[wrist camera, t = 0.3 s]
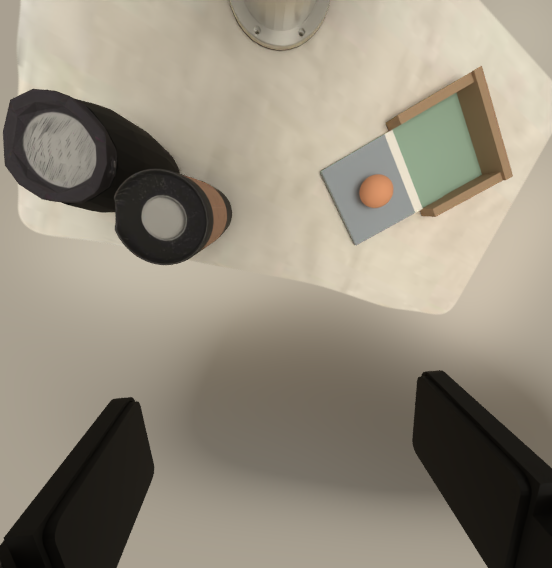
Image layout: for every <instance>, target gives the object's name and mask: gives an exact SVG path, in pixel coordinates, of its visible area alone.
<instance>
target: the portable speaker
mask: <svg viewBox="0 0 552 568" xmlns="http://www.w3.org/2000/svg"><path fill="white" fill-rule="evenodd" d="M3 140H4V158H5V166H6V167H7V169H8V170H9V171H10V173H11V174H12V175H13V177H14V178H15V180H16V181H17V182H18V184H19V185H21V186H23V187H24V188H26V189H27V190H29V191H30V192H32V193H33V194H35V195H37V196H38V197H40V198H41V199H44V200H49V201H55V202H62V203H64V204H67V205H71V206H75V207H79V208H83V209H87V210H91V211H97V212H102V213H103V212H115V200H114V195H115V193H116V191H117V190H118V188H119V187H120V185H121V184H122V183H123V182H124V181H125V180H126V179H127V178H129V177H130V176H131V175H133V174H135V173H137V172H140V171H142V170H147V169H165V170H170V171H173V172H176V173H179V169H178V167H177V165H176V163H175V161H174V159H173V157H172V156H171V155H170V154H169V152H167V151H166V150H165V149H164V148H163V147H162V146H161V145H160V144H159V143H158V142H157V141H156V140H155V139H154V138H153V137H152V136H151V135H149V134H148V133H147V132H146V131H144V130H143V129H141V128H139V127H138V126H136V125H135V124H133V123H131V122H130V121H128V120H127V119H125V118H123V117H122V116H120V115H119V114H117V113H116V112H114V111H112V110H111V109H108V108H105V107H102V106H99V105H96V104H93V103H89V102H85V101H81V100H77V99H74V98H72V97H70V96H68V95H65V94H62V93H60V92H57V91H51V90H39V89H32V90H30V91H28V92H26V93H23V94H21V95H19V96H17V97H16V98H13V99H11V100H10V103H9V108H8V112H7V117H6V121H5V125H4V130H3Z"/></svg>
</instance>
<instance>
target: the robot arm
mask: <svg viewBox="0 0 552 568" xmlns="http://www.w3.org/2000/svg"><path fill="white" fill-rule="evenodd" d="M229 1H230V4H231V7H232V11H233V13H234V15H235V17H236V20H237V22H238V23H239V25H240V26H241V28H242V29H243V30H244V32H245V33H246V34H247V35H248V36H249V37H250V38H251V39H252V40H254V41H255V42H257V43H258V44H260V45H262V46H265V47H267V48H270V49H276V50H286V49H291V48H294V47H297V46H299V45H301V44H303V43H304V42H306V41H307V40H308V39H309V38H311V37H312V36H313V35H314V34H315V32H316V31H317V30H318V29H319V27H320V26H321V24H322V22H323V20H324V18H325V16H326V13H327V10H328V8H329V4H330V0H229ZM257 32H258V33H259V34H255V33H257ZM300 34H301V35H302V37H301V36H299V35H300ZM413 447H414V450H415V452H416V454H417V456H418V457H419V459H420V460H421V462H422V464H423V465H424V467H425V468H426V470H427V472H428V473H429V475H430V476H431V478H432V479H433V481H434V483H435V484H436V486H437V487H438V489H439V491H440V492H441V494H442V495H443V497H444V498H445V500H446V502H447V503H448V505H449V507H450V508H451V510H452V511H453V513H454V514H455V516H456V517H457V519H458V521H459V522H460V524H461V525H462V527H463V529H464V530H465V532H466V533H467V535H468V537H469V538H470V540H471V541H472V543H473V545H474V546H475V548H476V549H477V551H478V553H479V554H480V556H481V557H482V559H483V561H484V562H485V564H486V565H487V567H488V568H552V468H551V467H550V466H548V465H547V464H546V463H545V462H544V461H543V460H542V459H541V458H540V457H538V456H537V455H536V454H535V453H534V452H533V451H532V450H531V449H530V448H528V447H527V446H526V445H525V444H524V443H523V442H522V441H521V440H520V439H518V438H517V437H516V436H515V435H514V434H513V433H512V432H511V431H509V430H508V429H507V428H506V427H505V426H504V425H503V424H502V423H500V422H499V421H498V420H497V419H496V418H495V417H494V416H493V415H492V414H490V413H489V412H488V411H487V410H486V409H485V408H484V407H482V406H481V404H479V403H478V402H477V401H476V400H475V399H474V398H473V397H472V396H470V395H469V394H468V393H467V392H466V391H465V390H464V389H463V388H462V387H460V386H459V385H458V384H457V383H456V382H455V381H454V380H453V379H452V378H450V377H449V376H448V375H447V374H446V373H445V372H443V371H440V370H439V371H428V372H423V374H422V376H421V377H418V380H417V391H416V402H415V415H414V427H413ZM153 474H154V463H153V459H152V455H151V450H150V446H149V441H148V437H147V433H146V428H145V424H144V420H143V415H142V411H141V406H140V404H139V402H135V400H134V399H133V398H132V397H129V398H118V399H113V400H111V401H110V403H109V404H108V405H107V407H106V408H105V409H104V410H103V411H102V413H101V414H100V415H99V417H98V418H97V419H96V421H95V422H94V423H93V424H92V426H91V427H90V428H89V429H88V431H87V432H86V433H85V435H84V436H83V437H82V438H81V440H80V441H79V442H78V443H77V445H76V446H75V447H74V449H73V450H72V451H71V452H70V454H69V455H68V456H67V458H66V459H65V460H64V462H63V463H62V464H61V465H60V467H59V468H58V469H57V471H56V472H55V473H54V474H53V476H52V477H51V478H50V479H49V481H48V482H47V483H46V484H45V486H44V487H43V489H42V490H41V491H40V492H39V493H38V495H37V496H36V497H35V499H34V500H33V501H32V502H31V504H30V505H29V506H28V508H27V509H26V510H25V511H24V513H23V514H22V515H21V516H20V518H19V519H18V520H17V522H16V523H15V524H14V526H13V527H12V528H11V529H10V531H9V532H8V533H7V535H6V536H5V537H4V541H3V543H2V544H1V545H0V568H117V565H118V563H119V560H120V558H121V555H122V553H123V550H124V548H125V545H126V543H127V540H128V538H129V535H130V533H131V530H132V528H133V525H134V523H135V520H136V518H137V515H138V513H139V511H140V508H141V506H142V503H143V501H144V498H145V496H146V493H147V491H148V488H149V486H150V483H151V481H152V478H153Z"/></svg>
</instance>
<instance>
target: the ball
mask: <svg viewBox="0 0 552 568" xmlns="http://www.w3.org/2000/svg"><path fill="white" fill-rule="evenodd" d="M393 190H394V189H393V184H392V182H391V180H390V179H389V178H388V177H386V176H384V175H381V174H375V175H372V176H370V177H368V178H367V179H365V180H364V182H363V183H362V185H361V187H360V191H359V195H360V199H361V201H362V202H363V203H364V204H365V205H366V206H368V207H370V208H379V207H382V206H384V205H385V204H387V203H388V202H389V201H390V199H391V198H392V195H393Z"/></svg>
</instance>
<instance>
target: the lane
mask: <svg viewBox="0 0 552 568" xmlns="http://www.w3.org/2000/svg"><path fill="white" fill-rule="evenodd" d="M386 125H387V127H388V130H389V132H387V133H386V134H384V135H382V136H380V137H379V138H377V139H375V140H373V141H372V142H370V143H368V144H367V145H365V146H363V147H361V148H360V149H358V150H356V151H355V152H353V153H351V154H349V155H348V156H346V157H344V158H343V159H341V160H339V161H337V162H336V163H334V164H332V165H331V166H329V167H327V168H325V169H324V170H322V171H320V174H321V176H322V178H323V180H324V182H325V184H326V186H327V188H328V191H329V193H330V195H331V197H332V199H333V201H334V203H335V205H336V207H337V210H338V212H339V214H340V216H341V218H342V220H343V222H344V224H345V226H346V229H347V231H348V233H349V235H350V237H351V239H352V241H353V243H354V245H358V244H359V243H361V242H363V241H365V240H367V239H369V238H370V237H372V236H374V235H376V234H378V233H379V232H381V231H383V230H385V229H387V228H389V227H390V226H392V225H394V224H396V223H398V222H400V221H401V220H403V219H405V218H407V217H409V216H411V215H412V214H414V213H416V212H418V211H420V212H421V215H422V216H432V217H436V216H438V215H440V214H442V213H443V212H445V211H447V210H449V209H451V208H453V207H454V206H456V205H458V204H460V203H462V202H464V201H466V200H467V199H469V198H471V197H473V196H475V195H477V194H478V193H480V192H482V191H484V190H486V189H488V188H490V187H491V186H493V185H495V184H497V183H499V182H501V181H502V180H507V179H509V178H510V177H512V176H513V175H512V171H511V168H510V164H509V161H508V157H507V154H506V150H505V146H504V143H503V139H502V136H501V132H500V129H499V125H498V122H497V118H496V115H495V111H494V108H493V104H492V100H491V97H490V93H489V90H488V86H487V83H486V79H485V76H484V72H483V69H482V66H481V67H479V68H477V69H475V70H474V71H472V72H471V73H469V74H467V75H465V76H464V77H462V78H460V79H459V80H457V81H455V82H454V83H452V84H450V85H448V86H447V87H445V88H443V89H442V90H440V91H438V92H436V93H435V94H433V95H431V96H430V97H428V98H426V99H424V100H423V101H421V102H419V103H418V104H416V105H414V106H413V107H411V108H409V109H407V110H406V111H404V112H402V113H401V114H399V115H397V116H396V117H394V118H393V119H391V120H390V121H388V122H387V123H386ZM375 174H381V175H384V176H386V177H388V178H389V179H390V180H391V182H392V184H393V189H394V190H393V195H392V198H391V199H390V201H389V202H388V203H387V204H385V205H384V206H382V207H379V208H370V207H368V206H366V205H365V204H364V203H363V202H362V201H361V199H360V195H359V191H360V187H361V185H362V183H363V182H364V180H365V179H367V178H368V177H370V176H372V175H375Z"/></svg>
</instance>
